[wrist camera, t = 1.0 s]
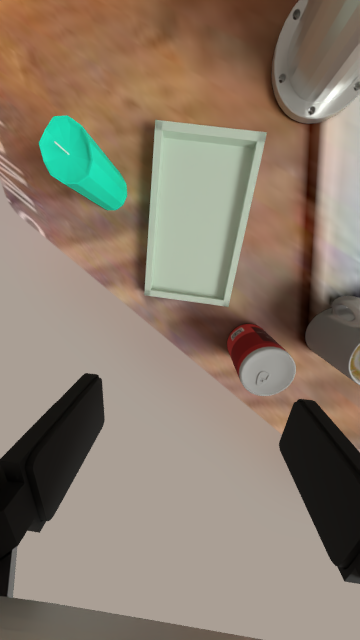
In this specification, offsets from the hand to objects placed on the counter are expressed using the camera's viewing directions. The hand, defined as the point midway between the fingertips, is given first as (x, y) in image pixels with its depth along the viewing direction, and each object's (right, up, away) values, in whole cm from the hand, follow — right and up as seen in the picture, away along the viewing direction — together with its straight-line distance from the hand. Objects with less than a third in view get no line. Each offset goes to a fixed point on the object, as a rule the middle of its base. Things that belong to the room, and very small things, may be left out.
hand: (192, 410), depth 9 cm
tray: (+2, +20, +21) cm, 29 cm away
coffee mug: (+28, +4, +25) cm, 38 cm away
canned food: (+13, 0, +27) cm, 30 cm away
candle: (-12, +26, +20) cm, 35 cm away
